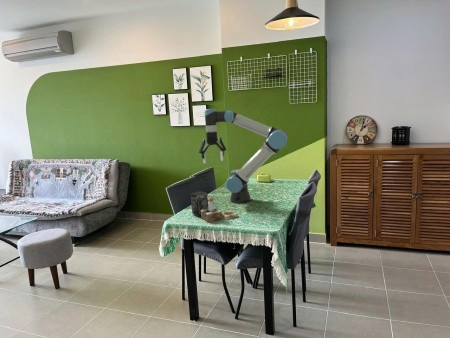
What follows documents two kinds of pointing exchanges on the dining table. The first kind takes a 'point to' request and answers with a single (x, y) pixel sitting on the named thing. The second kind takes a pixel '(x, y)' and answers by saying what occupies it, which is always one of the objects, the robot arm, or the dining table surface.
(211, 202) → the lock pin
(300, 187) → the dining table surface
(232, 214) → the mount block
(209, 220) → the dock block
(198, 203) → the camera
